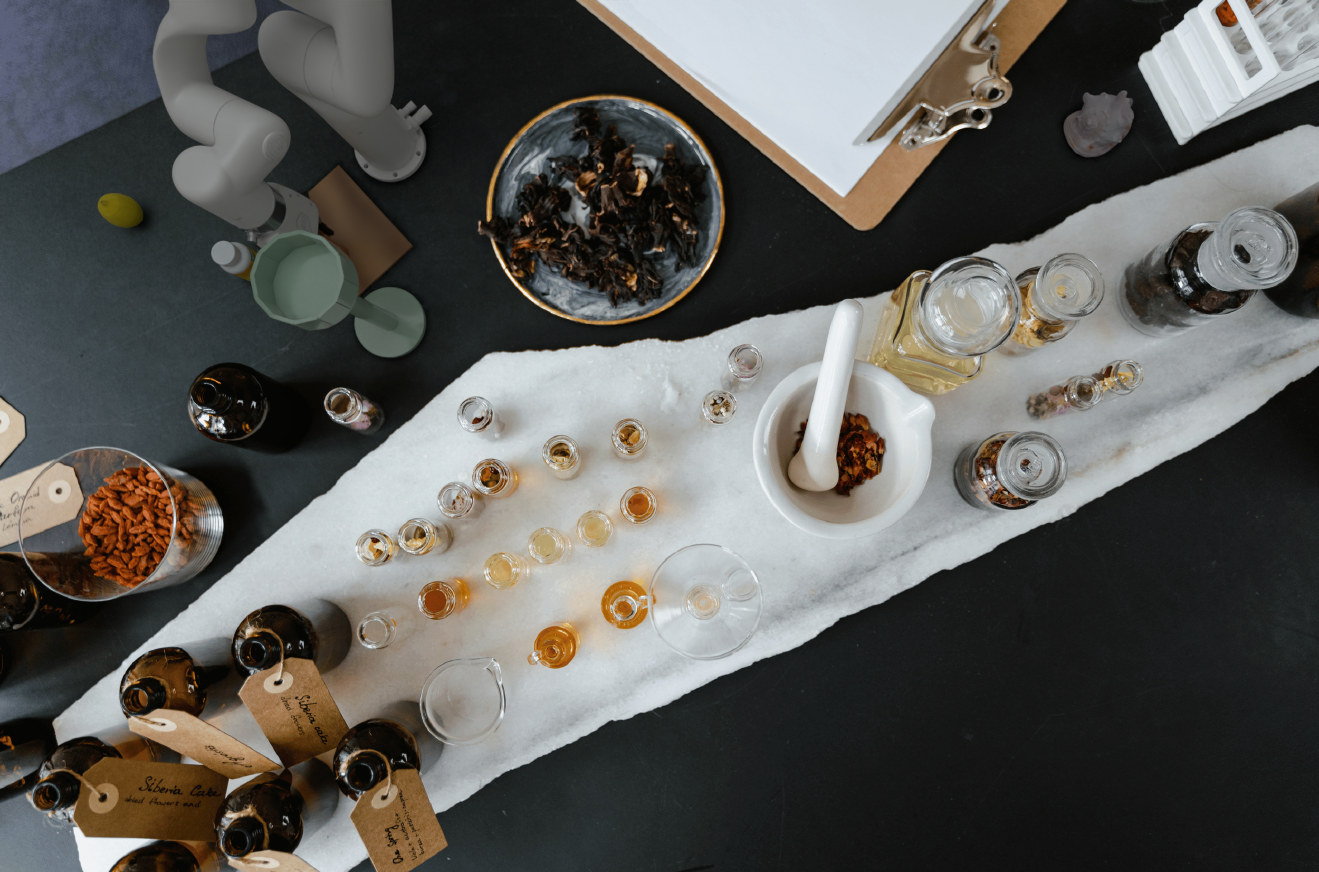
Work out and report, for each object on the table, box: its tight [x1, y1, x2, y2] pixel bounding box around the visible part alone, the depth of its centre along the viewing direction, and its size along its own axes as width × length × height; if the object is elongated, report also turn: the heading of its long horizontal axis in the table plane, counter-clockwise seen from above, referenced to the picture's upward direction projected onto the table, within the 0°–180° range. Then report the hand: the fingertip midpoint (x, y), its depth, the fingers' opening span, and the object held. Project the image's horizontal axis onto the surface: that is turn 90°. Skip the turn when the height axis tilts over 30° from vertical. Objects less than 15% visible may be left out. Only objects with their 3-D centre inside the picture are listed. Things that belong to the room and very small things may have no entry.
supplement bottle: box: [210, 240, 259, 283], centre depth 113 cm, size 5×5×10 cm
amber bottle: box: [318, 229, 349, 257], centre depth 113 cm, size 5×5×9 cm
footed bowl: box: [250, 230, 427, 359], centre depth 102 cm, size 12×12×29 cm
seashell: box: [1063, 90, 1135, 158], centre depth 110 cm, size 10×12×9 cm
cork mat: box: [308, 164, 414, 297], centre depth 118 cm, size 20×20×1 cm
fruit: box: [97, 192, 144, 229], centre depth 115 cm, size 6×6×8 cm
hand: (324, 249), depth 113 cm, fingers closed on amber bottle, 4 cm apart
